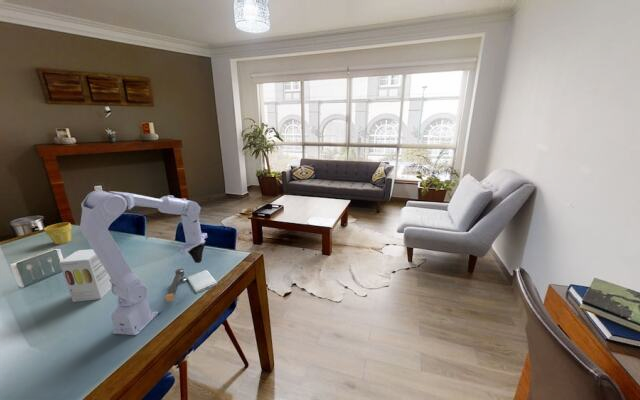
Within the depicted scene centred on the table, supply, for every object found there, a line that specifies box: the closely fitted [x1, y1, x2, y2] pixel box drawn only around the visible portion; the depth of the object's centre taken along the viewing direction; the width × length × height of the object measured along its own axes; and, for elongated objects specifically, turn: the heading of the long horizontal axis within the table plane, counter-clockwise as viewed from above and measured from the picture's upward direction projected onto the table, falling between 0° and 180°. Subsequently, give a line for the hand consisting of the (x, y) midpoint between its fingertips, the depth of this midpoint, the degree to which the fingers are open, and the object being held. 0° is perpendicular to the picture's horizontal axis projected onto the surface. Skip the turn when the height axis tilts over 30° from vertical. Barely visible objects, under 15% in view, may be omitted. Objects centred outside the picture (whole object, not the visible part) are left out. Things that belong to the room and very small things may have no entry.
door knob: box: [179, 275, 188, 285], centre depth 102 cm, size 4×4×3 cm
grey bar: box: [164, 268, 185, 302], centre depth 95 cm, size 3×18×2 cm, turn 17°
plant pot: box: [43, 221, 73, 245], centre depth 138 cm, size 10×10×10 cm
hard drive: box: [186, 269, 219, 294], centre depth 102 cm, size 2×8×12 cm
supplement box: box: [58, 248, 111, 303], centre depth 94 cm, size 10×9×17 cm
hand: (198, 261), depth 99 cm, fingers closed
